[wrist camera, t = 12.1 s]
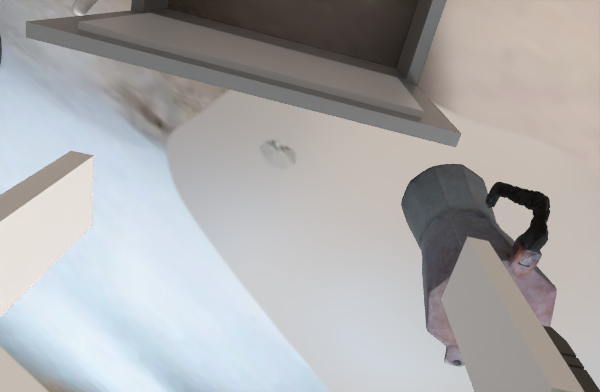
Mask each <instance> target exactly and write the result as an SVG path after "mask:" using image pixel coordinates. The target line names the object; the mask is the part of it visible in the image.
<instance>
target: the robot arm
mask: <svg viewBox="0 0 600 392" xmlns="http://www.w3.org/2000/svg"><path fill="white" fill-rule="evenodd" d="M1 54H2V48H1V38H0V63H1ZM93 162H94V156H93V155H88V154H83V153H79V152H74V151H70V152H69V153H67V154H65V155H64V156H62V157H61V158H59V159H57V160H56V161H54V162H53V163H51V164H49V165H48V166H46V167H45V168H43V169H41V170H40V171H38V172H37V173H35V174H33V175H32V176H30V177H29V178H27V179H25V180H24V181H22V182H21V183H19V184H17V185H16V186H14V187H13V188H11V189H9V190H8V191H6V192H5V193H3V194H1V195H0V317H1V316H2V315H3V314H4V313H5V312H6V311H7V310H8V309H9V308H10V307H11V306H12V305H13V304H14V303H15V302H16V301H17V300H18V299H19V298H20V297H21V296H22V295H23V294H24V293H25V292H26V291H27V290H28V289H29V288H30V287H31V286H32V285H33V284H34V283H35V282H36V281H37V280H38V279H39V278H40V277H41V276H42V275H43V274H44V273H45V272H46V271H47V270H48V269H49V268H50V267H51V266H52V265H53V264H54V263H55V262H56V261H57V260H58V259H59V258H60V257H61V256H62V255H63V254H64V253H65V252H66V251H67V250H68V249H69V248H70V247H71V246H72V245H73V244H74V243H75V242H76V241H77V240H78V239H79V238H80V237H81V236H82V235H83V234H84V233H85V232H86V231H87V230H88V229H89V228H90V227H91V226H92V209H93ZM441 301H442V304H443V306H444V309H445V312H446V315H447V317H448V320H449V323H450V326H451V328H452V331H453V334H454V337H455V339H456V342H457V345H458V348H459V350H460V353H461V356H462V359H463V361H464V364H465V367H466V370H467V372H468V375H469V378H470V381H471V383H472V386H473V389H474V391H475V392H600V390H599V389H598V387H597V386H596V384H595V383H594V381H593V380H592V378H591V377H590V375H589V374H588V372H587V371H586V370H584V367H583V365H582V363H581V362H580V361H579V359H578V358H576V355H575V353H574V352H573V350H572V349H571V347H570V346H569V344H568V343H567V341H566V340H564V339H563V338H562V337H561V336H560V335H559V334H558V333H557V332H556V331H555V330H554V329H552V328H551V327H547V326H542V324H541V323H540V321H539V320H538V318H537V316H536V315H535V313H534V312H533V310H532V309H531V307H530V305H529V304H528V302H527V301H526V299H525V298H524V296H523V294H522V293H521V291H520V290H519V288H518V287H517V285H516V283H515V282H514V280H513V279H512V277H511V276H510V274H509V272H508V271H507V269H506V268H505V266H504V265H503V263H502V261H501V260H500V258H499V257H498V255H497V254H496V252H495V250H494V249H493V247H492V246H491V244H490V243H489V241H486V240H481V239H476V238H472V237H467V239H466V241H465V244H464V246H463V248H462V251H461V253H460V255H459V258H458V260H457V262H456V265H455V267H454V270H453V272H452V274H451V277H450V279H449V281H448V284H447V286H446V289H445V291H444V293H443V296H442V298H441Z"/></svg>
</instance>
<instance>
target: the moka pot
mask: <svg viewBox="0 0 600 392" xmlns="http://www.w3.org/2000/svg"><path fill="white" fill-rule="evenodd" d="M500 196H501V197H504V198H505V197H508V199H510V200H512V201H514V203H518V204H519V205H524V206H525V207H526V208H528V209H531V210H533V215H534V217H533V219H532V220H531V224H530V227H529V228H528V230H527V231H526V232H525V233H524V234H522V235H521V236H519V237H518V238H517V239H516V241H515V242H514V240H513V239H512V238H511V237H510V236H508V235H507V234H506V233H505V232H504V231H503V230H501V228H500V227H499V225H498V224H497V223H496V220H495V216H494V212H493V210H492V207H494V206H495V204H496V202H497V201H498V199H499V197H500ZM549 203H550V202H549V198H548V197H547V196H545V195H544V194H542V193H540V192H537V191H535V192H534V191H532V190H531V191H529V190H528V189H521V188H519V187H517V186H516V187H514V186H512V185H510V184H506V183H502V182H497V183H495V184H494V186H493V187H492V188H491V190H490V193H489V194H488V193H487V189H486V186H485V183H484V181H483V179H482V178H481V177H479V176H478V175H477V174H475V173H474V172H473V171H471V170H470V169H468V168H467V167H465V166H464V165H460V164H446V165H439V166H433V167H431V168H429V169H427V170H425V171H423V172H422V173H421V174H419V175H418V176H416V177H415V178H414V179H412V180H411V181H410V183H409V184H408V186H407V188H406V191H405V193H404V196H403V198H402V204H401V205H402V209H403V212H404V215H405V218H406V221H407V223H408V225H409V228H410V229H411V231H412V233H413V235H414V237H415V239H416V241H417V243H418V245H419V247H420V249H421V251H422V257H423V259H422V275H423V288H424V303H425V315H426V328H427V331H428V332H429V333H430V334H432V335H433V336H434V337H435V338H437V339H438V340H439V341H441V342H442V343H443V344H444V345H446V354H445V359H444V362H445V363H446V364H450V365H454V366H460V367H461V366H464V365H465V364H464V361H463V359H462V356H461V353H460V350H459V348H458V345H457V342H456V339H455V337H454V334H453V331H452V328H451V326H450V323H449V320H448V317H447V315H446V312H445V309H444V306H443V304H442V301H441V298H442V296H443V293H444V291H445V289H446V286H447V284H448V281H449V279H450V277H451V274H452V272H453V270H454V267H455V265H456V262H457V260H458V258H459V255H460V253H461V251H462V248H463V246H464V244H465V241H466V239H467V237H472V238H476V239H481V240H486V241H489V243H490V244H491V246H492V247H493V249H494V250H495V252H496V254H497V255H498V257H499V258H500V260H501V261H502V263H503V265H504V266H505V268H506V269H507V271H508V272H509V274H510V276H511V277H512V279H513V280H514V282H515V283H516V285H517V287H518V288H519V290H520V291H521V293H522V294H523V296H524V298H525V299H526V301H527V302H528V304H529V305H530V307H531V309H532V310H533V312H534V313H535V315H536V316H537V318H538V320H539V321H540V323H541V324H542V326H547V327H550V324H551V319H552V314H553V309H554V304H555V299H556V287H555V286H554V285H553V284H552V283H551V282H550V280H549V279H548V278H547V277H546V276H545V275H544V274H543V273H542V272H541V270H540V269H539V268H538V267H537V266H536V265H537V263H538V262H539V260H540V258H541V255H542V254H541V252H540V249H541V248H542V247H543V246H544V245H545V243H546V242H547V240H548V230H547V225H546V222H547V220H548V217H549V213H550V210H549V208H550V204H549Z"/></svg>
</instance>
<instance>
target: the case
mask: <svg viewBox="0 0 600 392" xmlns="http://www.w3.org/2000/svg"><path fill="white" fill-rule="evenodd" d="M96 1H97V0H76V1H75V2H74V3H73V5H72V9H73V11H74V13H75V14H77V15H79V16H75V17H66V18H56V19H47V20H37V21H27V22H26V37H27V38H31V39H35V40H39V41H43V42H47V43H51V44H55V45H59V46H63V47H66V48H70V49H74V50H78V51H82V52H86V53H90V54H94V55H98V56H102V57H106V58H109V59H113V60H117V61H121V62H125V63H129V64H133V65H137V66H141V67H145V68H149V69H152V70H156V71H160V72H164V73H168V74H172V75H176V76H180V77H184V78H188V79H192V80H195V81H199V82H203V83H207V84H211V85H215V86H219V87H223V88H227V89H231V90H235V91H238V92H242V93H246V94H250V95H254V96H258V97H262V98H266V99H270V100H274V101H278V102H281V103H285V104H290V105H293V106H297V107H301V108H305V109H309V110H313V111H317V112H321V113H325V114H328V115H333V116H336V117H340V118H344V119H348V120H352V121H356V122H360V123H364V124H368V125H372V126H376V127H380V128H383V129H387V130H391V131H395V132H399V133H403V134H407V135H410V136H415V137H418V138H422V139H426V140H430V141H434V142H438V143H442V144H446V145H450V146H454V147H456V145H457V143H458V141H459V138H460V136H461V133H460V132H459V131H458V130H457V128H456V127H455V126H454V125H453V124H452V123H451V122H450V121H449V120H448V119H447V118H446V117H445V115H444V114H443V113H442V112H441V111H440V110H439V109H438V108H437V107H436V106H435V105H434V103H433V102H432V101H431V100H430V99H429V98H428V97H427V96H426V95H425V94H424V93H423V92H422V90H421V89H420V88H419V87H418V86H417V83H418V80H419V77H420V75H421V72H422V69H423V66H424V63H425V60H426V57H427V55H428V52H429V49H430V46H431V43H432V40H433V37H434V34H435V32H436V29H437V26H438V23H439V20H440V17H441V14H442V12H443V9H444V6H445V3H446V0H418V3H417V6H416V9H415V12H414V15H413V19H412V22H411V25H410V28H409V31H408V34H407V37H406V40H405V43H404V46H403V49H402V52H401V55H400V59H399V62H398V65H397V68H392V67H389V66H385V65H381V64H377V63H373V62H370V61H366V60H362V59H358V58H354V57H351V56H347V55H343V54H339V53H335V52H332V51H328V50H324V49H320V48H316V47H312V46H309V45H305V44H301V43H297V42H293V41H290V40H286V39H282V38H278V37H274V36H271V35H267V34H263V33H259V32H255V31H252V30H248V29H244V28H240V27H236V26H232V25H229V24H225V23H221V22H217V21H213V20H210V19H206V18H202V17H198V16H194V15H191V14H187V13H183V12H179V11H175V10H172V9H168V0H132V6H131V11H123V12H113V13H104V14H94V15H85V14H86V13H87V12H88V10H89V9H90V8H91V7H92V6H93V5H94V4H95V3H96ZM82 15H85V16H82Z"/></svg>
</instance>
